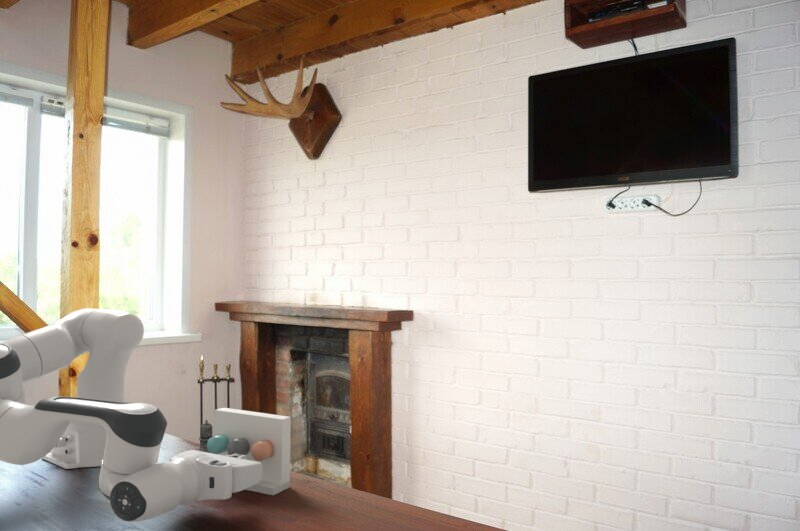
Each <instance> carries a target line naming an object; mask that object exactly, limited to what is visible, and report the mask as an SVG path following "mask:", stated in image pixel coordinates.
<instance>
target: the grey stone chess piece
mask: <svg viewBox="0 0 800 531" xmlns="http://www.w3.org/2000/svg"><path fill="white" fill-rule="evenodd" d="M199 431H200V435H199V437H198V440H199V448H198V451H202V452H208V453H210V452H209V451H208V448H207V442H208V440H209V439H210V438H212V437H213V425H212V424H211V423H209V421H208V420H207V419H206V420H205V421H204V423H203V424H201V425H200V429H199Z"/></svg>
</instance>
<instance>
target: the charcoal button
mask: <svg viewBox="0 0 800 531" xmlns="http://www.w3.org/2000/svg"><path fill="white" fill-rule="evenodd" d="M249 449H250V446H249V442H248V441H247V440H246V439H245V438H239V439H236V440H233V441H230V442H229V443H228V445H227V452H228V455H232V454H235V453H236V454H241V455H246V454H248V452H249Z"/></svg>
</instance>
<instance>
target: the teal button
mask: <svg viewBox="0 0 800 531" xmlns="http://www.w3.org/2000/svg"><path fill="white" fill-rule="evenodd" d="M228 443H229V439H228V438H227V436H225V435H223V434H221V435H218V436H215V435H214V436H212V438H210V439H209V440H208V442H207V448H208V451H209V452H210V453H213V454H220V453H222V452H225V451H227V445H228Z"/></svg>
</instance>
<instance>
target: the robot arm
mask: <svg viewBox="0 0 800 531" xmlns="http://www.w3.org/2000/svg"><path fill="white" fill-rule="evenodd" d="M144 333H145V327H144V324H143V321H142V320H141V319H140V317H138V316H137V315H135V314H133V313H131V312H129V311H125V310H121V309H110V308H93V307H92V308H90V307H85V308H81V309H77V310H74V311H70V312H69V313H67V314H66V315H65V316H64V317H62V318H61V319H58V320H57V321H55V322H53V323H51V324H49V325H45V326H43V327H41V328H38V329H33V330H31V331H28V332H24V333H22V334H20V335H16V336H14V337H11V338H9V339H6V340H4V341H1V342H0V462H4V463H6V464H11V465H15V466H25V465H29V464H33V463H35V462H37V461H40V460H41V459H43V460H45V461H47V462H48V463H49V462H50V463H51V464H54V465H56V466H58V467H61V468H63V469H65V470H67V469H69V470H70V469H78V468H93V467H100V471H99V476H98V485H97V486H98V489H99V491H100V492H101V494H102V495H103V496H104V497H105V498H106V499H107V500H109V504H110V508H111V509H112V511H113V513H114V515H115V516H116V517H117V518H119V519H121V521H124V522H128V523H133V522H142V521H146V520H147V521H148V520H150V519H155V518H156V517H159V516H162V515H164V514H167V513H170V512H171V511H173V510H175V509H176V508H177V507H179V506H185V505H189V504H191V503H193V502H199V501H200V502H201V501H207V500H208V501H209V500H211V501H212V500H217V501H221V500H223V501H224V500H228V499H231V498H232V494H234V493H239V492H242V491H244V490H245V489H247V488H249V487H251V486H253V485H255V484H257V483H259V482H260V481H261V479H262V463H261V462H257V461H251V460H247V456H246V455H241V454H236V453H235V454H232V455H218V454H213V453H208V452H202V451H199V450H197V449H190V450H185V451H182V452H180V453H177V454H175V455H173V456H171V457H170V458H169V461H167V462H166V463H165V462H158V461H159V457H160V456H159V455H160V452H161V451H160V449H161V445H162V442H163V439H164V435H165V432H166V429H167V426H168V421H167V419H166V417H165V415H164V414H163V413H162V411H161V410H160V409H159V408H158V406H156V405H155V404H151V403H145V402H125V401H124V397H125V396H124V394H125V393H124V392H125V375H126V369H127V365H128V363H129V360H130V357H131V354H132V353H133V351H134V350H135V349H136V348H137V347H138V346H139V345H140V344H141V343H142V340H143V338H144ZM87 353H88V356H87V357H88V358H87V361H86V364H85V366H84V368H83V369H82V370H81V371H80V372H79V373H78V375H77V376H76V377H77V378H76V396H75V397H74V396H52V397H47V398H43V399H40V400H39V401H38V402H36V404H35V405H29V404H25V402H26V400H25V399H26V398H25V397H26V396H25V394H26V393H25V387H24V384H28V383H30V382H33V381H36V380H38V379H40V378H44V377H45V376H49V375H50V374H53V373H56V372H58V371H60V370H62V369H65V368H67V367H69V366H70V365H71V364H72V363H73V361H74V360H75V359H76V358H78V357H80V356H82V355H84V354H87ZM245 491H246V490H245Z"/></svg>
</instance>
